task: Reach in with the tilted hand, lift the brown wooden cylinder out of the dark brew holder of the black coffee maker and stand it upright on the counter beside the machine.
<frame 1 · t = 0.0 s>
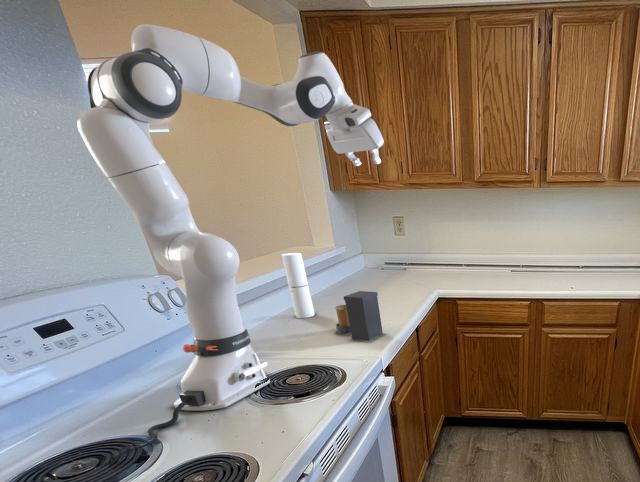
hand: (368, 164, 132), 54 cm above the countertop, tool tilted 30°, fingers open, 8 cm apart
brown wooden cylinder: (347, 330, 151), resting on brew holder
brew holder: (347, 332, 151), on the countertop
coffee maker: (367, 337, 145), on the countertop
cylindrical container: (305, 316, 174), on the countertop
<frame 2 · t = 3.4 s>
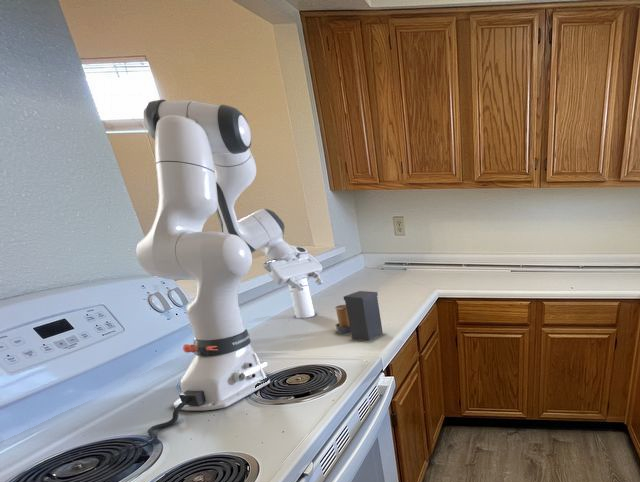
hand: (311, 286, 149), 16 cm above the countertop, tool tilted 45°, fingers open, 8 cm apart
nothing on the countertop moved.
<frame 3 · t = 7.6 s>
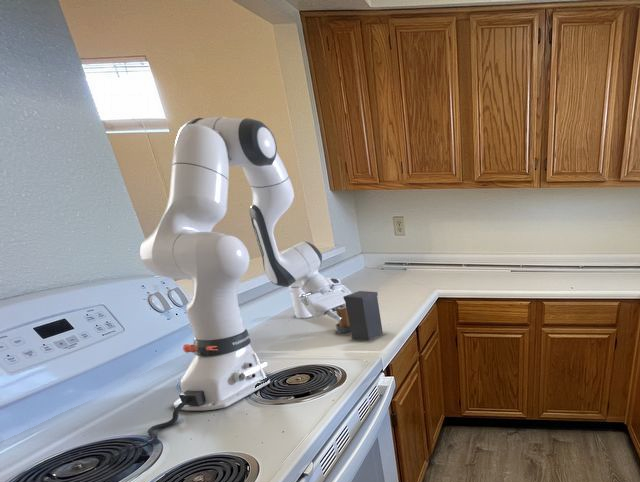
hand: (346, 317, 149), 5 cm above the countertop, tool tilted 45°, fingers closed on brown wooden cylinder, 5 cm apart
brown wooden cylinder: (347, 330, 151), point 1 cm above the countertop, touching brew holder, gripper
everything else where it was.
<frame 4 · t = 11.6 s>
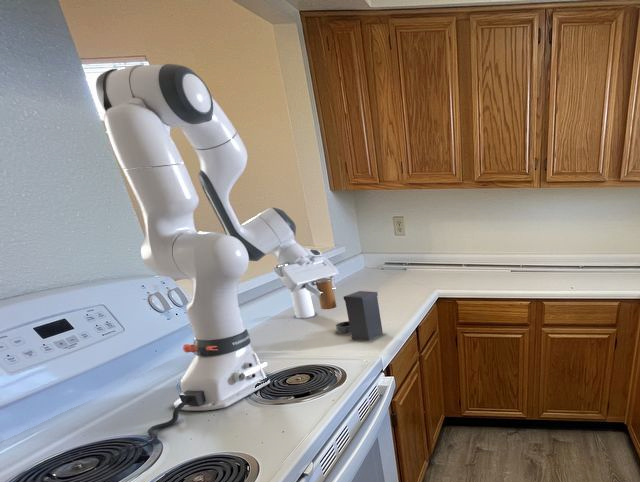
hand: (327, 292, 134), 17 cm above the countertop, tool tilted 45°, fingers closed on brown wooden cylinder, 5 cm apart
brown wooden cylinder: (328, 307, 136), point 12 cm above the countertop, touching gripper
everything else where it was.
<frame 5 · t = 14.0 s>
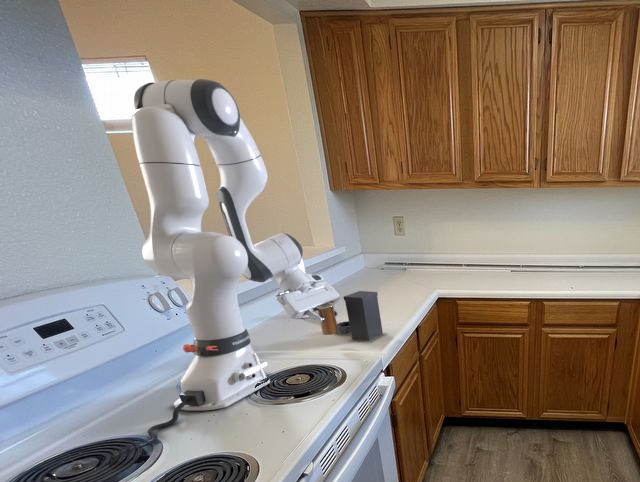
hand: (329, 318, 135), 9 cm above the countertop, tool tilted 45°, fingers closed on brown wooden cylinder, 5 cm apart
brown wooden cylinder: (330, 332, 137), point 4 cm above the countertop, touching gripper
everything else where it was.
when the fingers open (5 cm above the countertop, at t = 15.8 s): brown wooden cylinder stays where it is, on the countertop.
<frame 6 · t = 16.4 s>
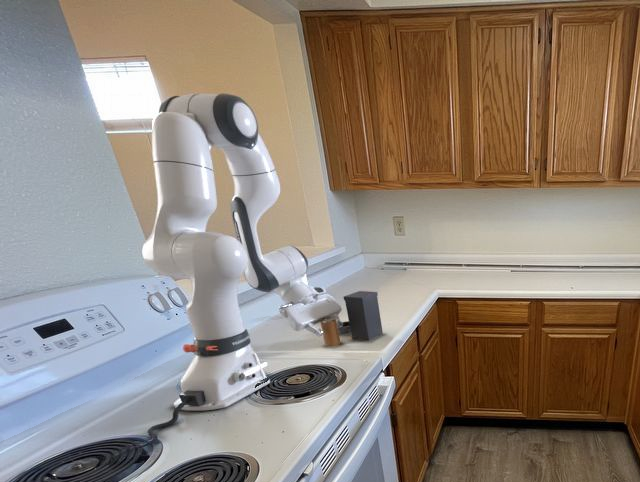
hand: (331, 330, 136), 5 cm above the countertop, tool tilted 45°, fingers open, 8 cm apart
brown wooden cylinder: (333, 345, 139), on the countertop
everything else where it was.
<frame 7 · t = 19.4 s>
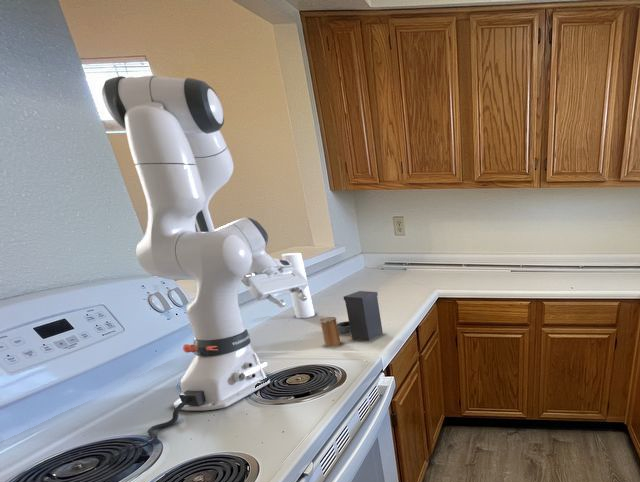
hand: (294, 302, 137), 14 cm above the countertop, tool tilted 45°, fingers open, 8 cm apart
nothing on the countertop moved.
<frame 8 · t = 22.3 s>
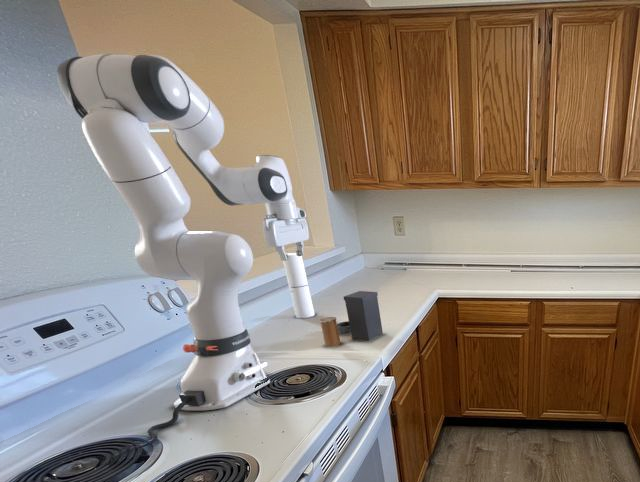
hand: (293, 258, 138), 27 cm above the countertop, tool pointing down, fingers open, 8 cm apart
nothing on the countertop moved.
at the end: brown wooden cylinder 0.1 cm from the target spot, on the countertop; brown wooden cylinder tilted 0°; brown wooden cylinder touching countertop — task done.
